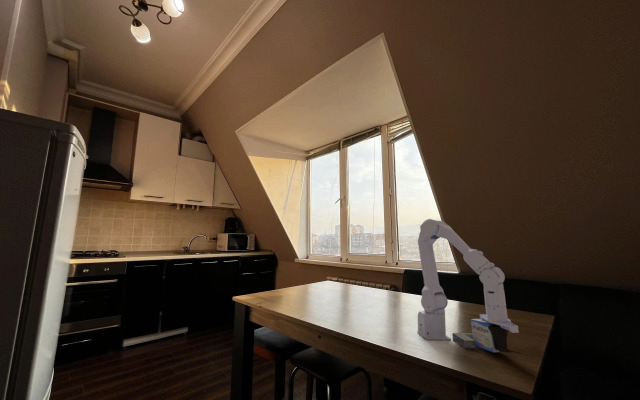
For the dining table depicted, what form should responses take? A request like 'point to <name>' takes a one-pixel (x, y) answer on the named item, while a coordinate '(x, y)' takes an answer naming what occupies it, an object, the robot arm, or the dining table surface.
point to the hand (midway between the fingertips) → (500, 350)
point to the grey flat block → (464, 339)
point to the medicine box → (482, 335)
